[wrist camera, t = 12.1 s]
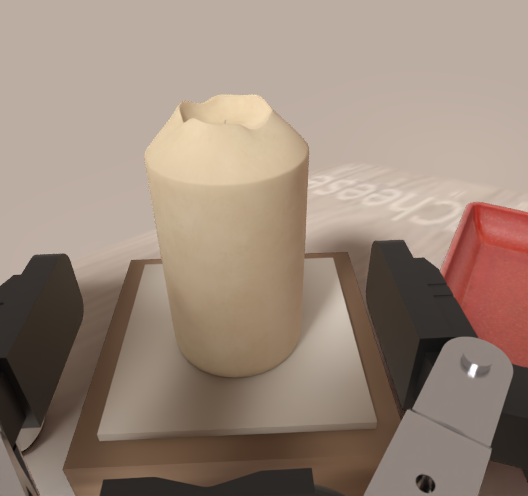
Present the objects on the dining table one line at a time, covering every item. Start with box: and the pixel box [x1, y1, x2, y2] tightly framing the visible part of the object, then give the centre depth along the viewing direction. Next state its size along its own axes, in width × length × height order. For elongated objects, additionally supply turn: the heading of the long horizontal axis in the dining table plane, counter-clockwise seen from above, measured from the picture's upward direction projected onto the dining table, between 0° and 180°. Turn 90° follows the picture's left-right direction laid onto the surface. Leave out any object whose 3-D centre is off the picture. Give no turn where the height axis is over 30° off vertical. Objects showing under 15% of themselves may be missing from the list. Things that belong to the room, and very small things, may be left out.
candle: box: [144, 94, 309, 378], centre depth 18 cm, size 6×6×10 cm
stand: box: [63, 252, 401, 496], centre depth 22 cm, size 12×12×4 cm
